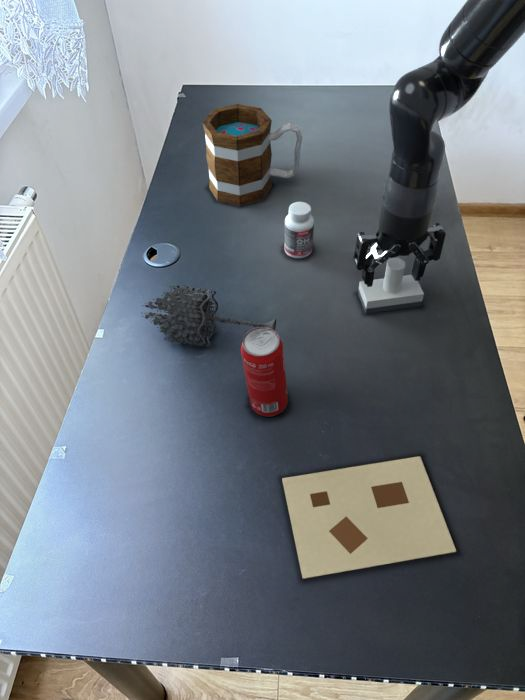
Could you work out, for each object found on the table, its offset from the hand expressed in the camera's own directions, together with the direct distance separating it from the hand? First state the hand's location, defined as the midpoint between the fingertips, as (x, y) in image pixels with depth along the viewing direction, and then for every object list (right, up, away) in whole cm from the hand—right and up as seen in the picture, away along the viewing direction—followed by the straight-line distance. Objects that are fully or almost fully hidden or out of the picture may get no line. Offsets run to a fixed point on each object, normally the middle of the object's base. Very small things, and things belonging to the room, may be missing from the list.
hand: (391, 280), depth 101 cm
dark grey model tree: (-31, -10, -1) cm, 32 cm away
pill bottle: (-15, +7, +13) cm, 21 cm away
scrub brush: (0, -3, +4) cm, 5 cm away
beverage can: (-21, -20, -10) cm, 31 cm away
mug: (-24, +23, +26) cm, 42 cm away
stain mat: (-8, -34, -22) cm, 41 cm away
